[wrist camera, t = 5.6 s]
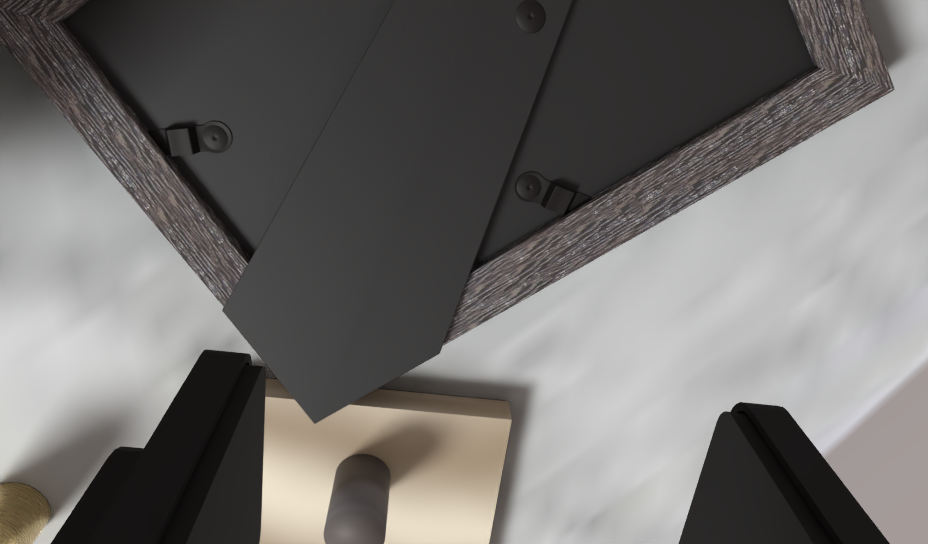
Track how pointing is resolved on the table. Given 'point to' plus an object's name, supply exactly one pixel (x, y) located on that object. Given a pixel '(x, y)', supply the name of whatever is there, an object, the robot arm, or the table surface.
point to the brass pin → (21, 513)
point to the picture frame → (426, 145)
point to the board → (409, 441)
